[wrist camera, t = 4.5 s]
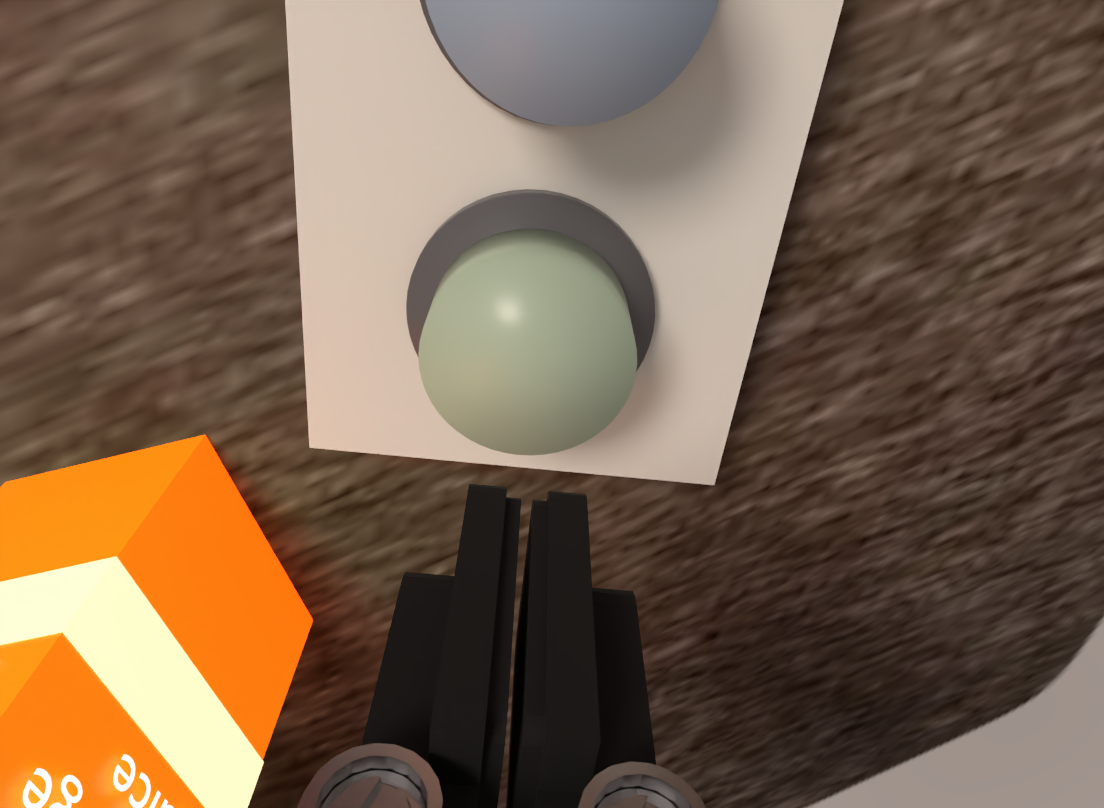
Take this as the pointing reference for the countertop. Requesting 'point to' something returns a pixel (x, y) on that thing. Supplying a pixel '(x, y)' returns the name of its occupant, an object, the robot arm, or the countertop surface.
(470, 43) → the slate button
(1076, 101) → the countertop surface
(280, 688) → the orange juice
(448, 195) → the button panel
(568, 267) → the sage button
